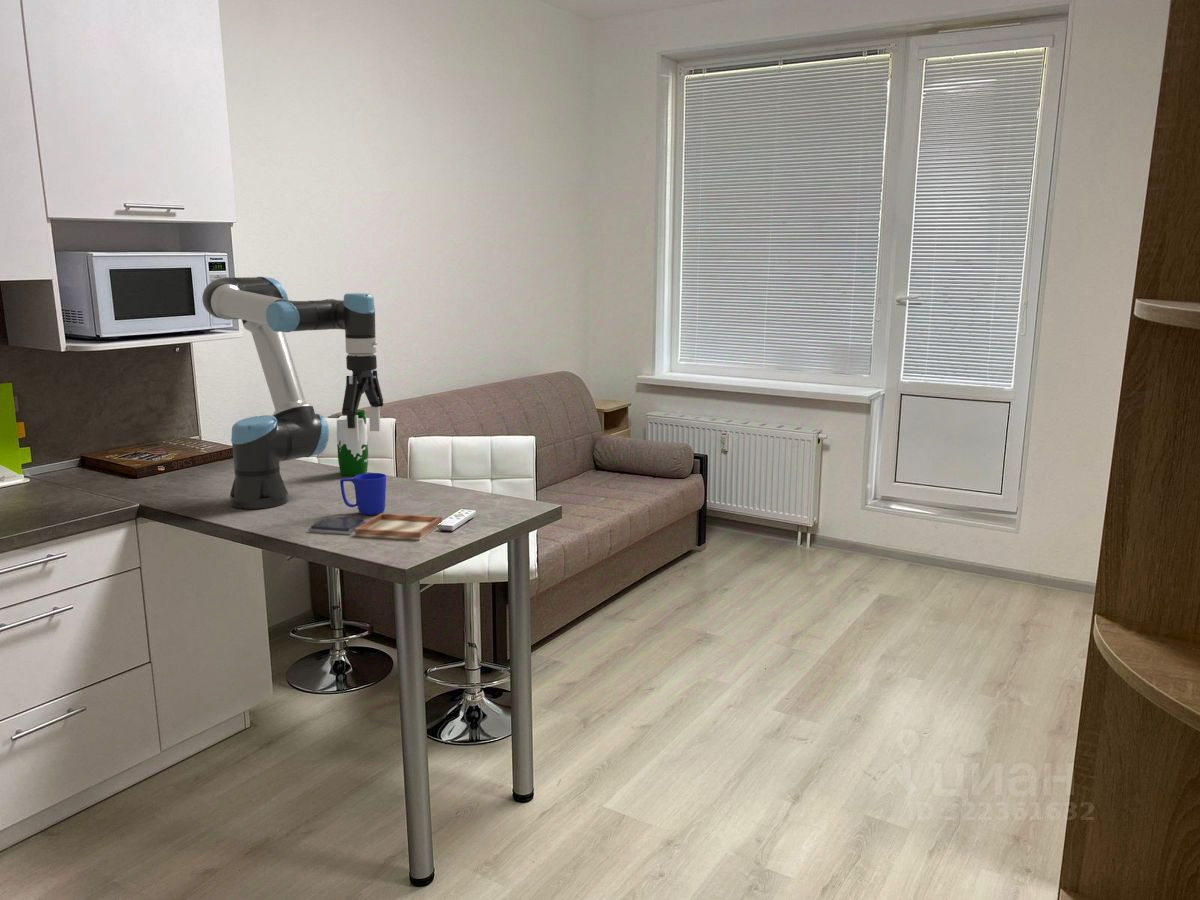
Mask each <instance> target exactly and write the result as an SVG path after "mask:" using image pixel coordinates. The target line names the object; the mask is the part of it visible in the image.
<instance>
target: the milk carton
mask: <svg viewBox="0 0 1200 900" xmlns="http://www.w3.org/2000/svg"><path fill="white" fill-rule="evenodd" d="M356 415H358V427H359V441H348V434H347V415H341V416H339V417H338V418H337V419H336V446H337V461H338V466H339V472H340V477H355V476H356V475H359V474H364V473H368V467H369V465H368V464H369V463H368V462H369V444H368V427H367V416H366V411H365V409H357V413H356Z"/></svg>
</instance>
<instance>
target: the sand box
mask: <svg viewBox="0 0 1200 900" xmlns="http://www.w3.org/2000/svg"><path fill="white" fill-rule="evenodd" d="M364 522H365V523H364V524H362V525H360V526H359V527H357V528H356V529H355V532H354V537H363V538H365V537H366V538H380V539H392V540H393V539H395V540H396V539H397V540H409V541H410V540H411V541H412V540H413V541H421V540H422V539H424V538H425V537H426V536H427V535H429V534H430V533H432V532H433V531H435V530H436V529H437V528H438V527H439V526H438V524H439V523H441V522H442V523H443V517H442V516H436V515H435V516H434V515H415V514H414V515H413V514H400V513H399V514H397V513H384V512H382V513H380V514H377V515H374V517H372V518H371V519H368V520H367V521H364ZM437 526H438V527H437Z"/></svg>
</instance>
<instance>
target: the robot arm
mask: <svg viewBox="0 0 1200 900" xmlns="http://www.w3.org/2000/svg"><path fill="white" fill-rule="evenodd" d="M202 305H203V307H204V309H205V310H206V312H208V314H209V315H211V316H213V317H215V318H217V319H220V320H221V319H223V320H228V321H229V320H241V323H242V325H243V328H244V329H245V330H247V331H249V332H250V333H251V335H252V339H253V342H254V345H255V349H256V353H257V354H258V358H259V361H260V364H261V369H262V372H263V374H264V377H265V381H266V384H267V387H268V392H269V394H270V397H271V398H270V399H271V400H272V404H273V407H274V409H275V410H274V412H273V414H272V415H268V414H267V415H265V414H264V415H259V416H258V415H254V416H250V417H247V418H243V419H240V420H238V421H237V422H235V423H234V424H233V425H232V427H231V443H232V444H231V445H232V447H231V448H232V455H233V457H232V458H233V468H234V469H233V470H234V479H233V483H232V486H231V491H230V494H229V505H230V506H231V507H232V506H233V508H235V507H237V508H236V509H241V508H244V509H245V510H254V509H255V510H258V509H267V508H272V507H277V506H281V505H284V504H286V503H287V502H289V492H288V490H287V487H286V484H285V482H284V479H283V477H282V474H281V471H280V469H281V468H280V462H285V461H290V460H296V459H303V458H310V457H312V456H316V455H320V454H322V453H323V452H324V451H325V449H326V448H327V446H328V442H329V438H330V428H329V424H328V421H327V419H326V418H325V417H324V416H323V415H322V414H320V413H316V412H315V408H314V406H313V405H312V404H310V403H308V402H307V401H306V397H305V395H304V392H303V389H302V386H301V382H300V379H299V376H298V372H297V370H296V367H295V363H294V359H293V357H292V356H293V355H292V353H291V351H290V346H289V342H288V341H287V338H286V333H291V332H303V331H305V332H306V331H326V330H327V331H328V330H342V331H343V330H344V333H345V334H344V338H345V341H344V342H345V353H346V354H347V355H346V369H347V370H348V371H352V374H351V375H346V377H345V379H346V381H345V390H344V397H343V403H342V408H341V414H342V416H347V434H348V441H359V427H358V415H356V413H357V410H359V409H358V408H359V405H360V402H361V398H362V396H363V394H364V395H365V396H366V398H367V401H368V402H369V403H368V404H369V405H370V406H368V418H369V419H368V420H369V422H368V423H369V432H381V412H380V410H381V409H380V408H382V407H383V406H384V398H383V395H382V390H381V387H380V382H379V379H378V371H377V370H376V369H377V368H378V365H377V363H378V362H377V355H375V354H376V352H377V345H378V342H377V340H376V308H375V297H374V295H372V294H371V293H364V292H363V293H360V292H358V293H357V292H353V293H352V292H351V293H348V292H347V293H345V294H344V295H343V299H342V300H340V299H333V298H330V299H329V298H328V299H321V300H320V299H319V300H289V296H288V293H287V291H286V289H285V287H284V286H283V284H282V283H281V282H280V281H279V280H277V279H275V278H274V277H265V276H254V277H250V276H249V277H246V276H245V277H228V276H227V277H220V278H217V279H215V280H213V281H211V282H210V283H208V284H207V285H206V287H205V288H204V290H203V293H202Z"/></svg>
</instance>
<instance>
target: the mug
mask: <svg viewBox="0 0 1200 900" xmlns="http://www.w3.org/2000/svg"><path fill="white" fill-rule="evenodd" d="M344 482H351V483H353V486H354V493H355V503H354V504H353V503H350V502H349V501H348V499H347V497H346V491H345V486H344ZM339 485H340V492H341V497H342V500H343V502H344V504H345V506H346V507H349V508H355V507H357V510H358V512H359V514H361V515H363V516H377V515H379V514H380V513H384V512H385V510H386V497H387V496H386V494H387V493H386V492H387V475H386V474H385V473H382V472H381V473H380V472H366V473H364V474H359V475H356V476H353V478H352V477H350V478H341V479H339Z"/></svg>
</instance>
